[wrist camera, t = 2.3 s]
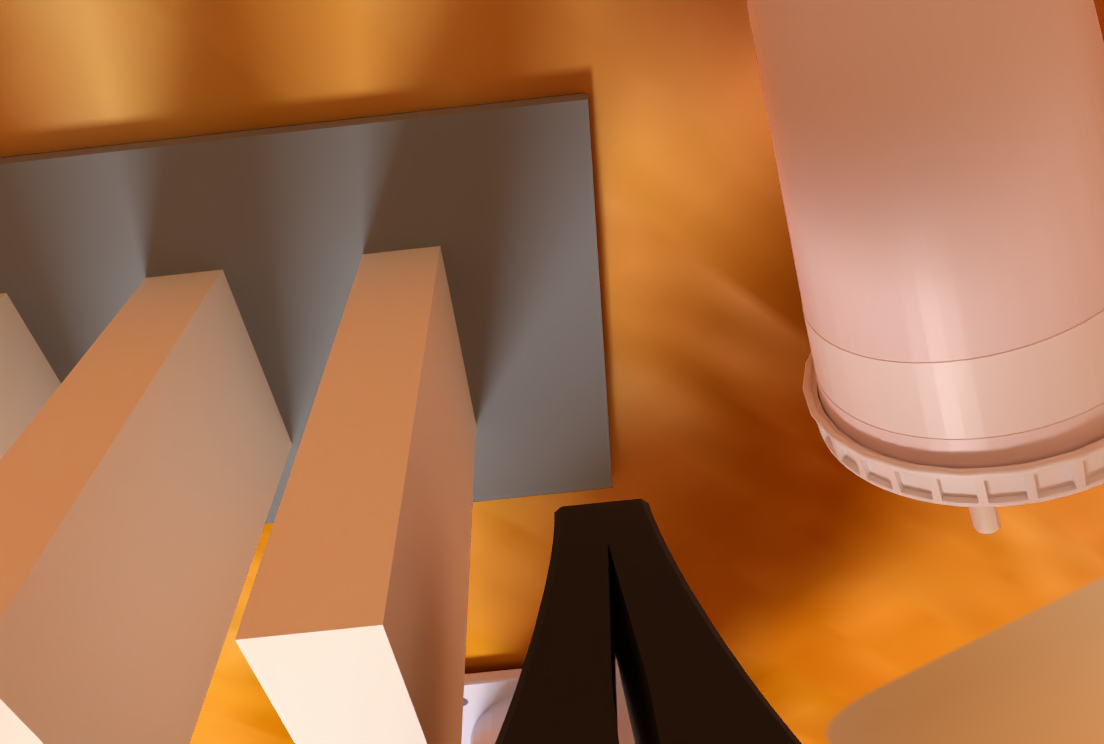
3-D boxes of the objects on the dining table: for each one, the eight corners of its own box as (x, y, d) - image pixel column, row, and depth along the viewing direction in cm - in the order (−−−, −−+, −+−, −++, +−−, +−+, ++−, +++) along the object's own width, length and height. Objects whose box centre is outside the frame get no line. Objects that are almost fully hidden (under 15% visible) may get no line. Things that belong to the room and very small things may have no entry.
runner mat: (610, 476, 20) (612, 487, 20) (-346, 576, 20) (-359, 588, 20) (586, 92, 14) (588, 99, 14) (-761, 242, 14) (-790, 251, 14)
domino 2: (440, 245, 15) (382, 624, 8) (476, 424, 18) (457, 824, 11) (362, 254, 15) (235, 641, 8) (410, 431, 18) (347, 835, 11)
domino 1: (222, 269, 15) (-31, 667, 8) (292, 444, 18) (151, 855, 11) (145, 278, 15) (-176, 682, 8) (227, 450, 18) (43, 864, 11)
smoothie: (554, 4, 11) (815, 597, 18) (1090, -209, 6) (1161, 718, 13) (769, -147, 14) (921, 412, 20) (1246, -373, 9) (1236, 455, 16)
